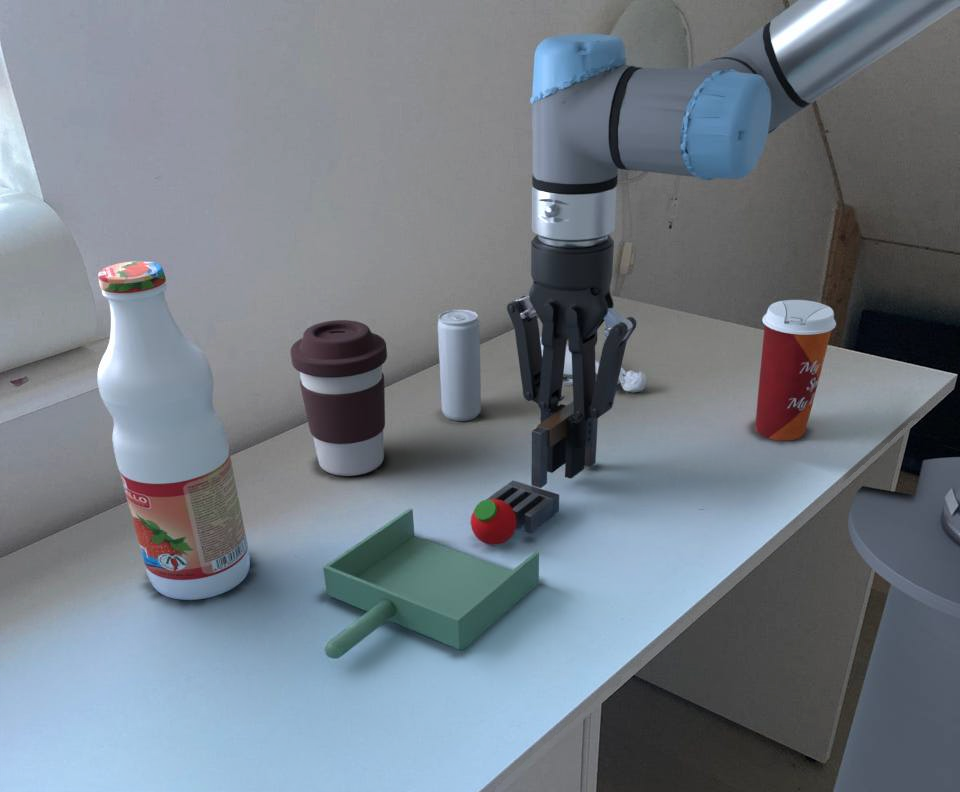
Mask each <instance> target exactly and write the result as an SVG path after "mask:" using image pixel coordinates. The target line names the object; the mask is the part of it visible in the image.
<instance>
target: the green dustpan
mask: <svg viewBox="0 0 960 792" xmlns="http://www.w3.org/2000/svg"><path fill="white" fill-rule="evenodd" d="M322 569H323V576H324V583H325V589H326V590H325V591H326V595H327V596H329V597H331V598H334V599H337V600H338V601H341V602H343V603H346V604H348V605H351V606H353V607H356V608H358V609H361V610H362V611H366V612H365V613H364V614H363V615H361V616H360V617H358V618H357V619H356V620H354V621H353V622H352V623H350V624H349V625H348V626H346V627H345V628H344V629H343V630H341V631H340V632H339V633H337V634H335V636H334V637H332V638H331V639H329V640H328V641H327V642H326V643H325V645H324V652H325V655H326V656H327V657H328V658H330V659H333V660H337V659H340V658H341V657H343V656H344V655H345V654H346V653H348V652H349V651H350V650H352V649H353V648H354V647H356V646H357V645H358V644H359V643H360V642H362V641H363V640H365V638H367V637H368V636H369V635H371V634H372V633H373V632H375V631H376V630H377V629H379V628H380V627H382V625H383V624H385V623H386V622H388V621H389V622H392V623H395V624H396V625H399V626H401V627H404V628H407V629H409V630H411V631H413V632H416V633H418V634H421V635H423V636H425V637H428V638H431V639H433V640H435V641H437V642H440V643H443V644H445V645H448V646H450V647H452V648H455V649H457V650H461V651H463V650H464V649H466V648H467V647H468V646H470V644H471V643H472V642H473V641H475V640H476V639H477V638H478V637H479V636H481V635H482V633H484V632H485V631H486V630H487V629H488V628H489V627H491V625H493V624H494V623H495V622H496V621H497V620H498V619H499V618H501V617H502V616H503V615H504V614H505V613H506V612H508V611H509V610H510V609H511V608H512V607H513V606H515V605H516V604H517V602H519V601H520V600H521V599H522V598H524V596H526V595H527V594H528V593H529V592H530V591H531V590H533V589H534V588H535V587H536V586H537V585H538V584H539V583H540V552H539V551H537V550H536V551H534V552H533V553H532V554H531V555H529V556H527V558H526V559H524V560H523V561H522V562H521V563H520V564H519V565H517V566H516V567H515V568H514V569H512V570H511V569H508V568H506V567H503V566H500V565H497V564H495V563H492V562H489V561H487V560H483V559H481V558H478V557H475V556H473V555H470V554H467V553H463V552H461V551H458V550H455V549H453V548H450V547H447V546H444V545H441V544H439V543H436V542H434V541H430V540H427V539H425V538H421V537H419V536H416V535H415V523H414V509H413V508H411V507H409V508H407V509H406V510H405V511H404V512H402V513H400V514H399V515H397V516H396V517H394V518H393V519H392V520H390V521H388V522H387V523H385V524H384V525H383V526H381V527H379V528H378V529H377V530H375V531H374V532H372V533H371V534H369V535H368V536H367V537H365V538H364V539H362V540H361V541H359V542H358V543H356V544H354V545H353V546H352V547H350V548H349V549H347V550H346V551H344V552H343V553H341V554H340V555H338V556H337V557H335V559H333V560H331V561H330V562H328V563H327V564H326V565H324V566H323V567H322Z"/></svg>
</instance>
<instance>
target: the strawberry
mask: <svg viewBox="0 0 960 792" xmlns="http://www.w3.org/2000/svg"><path fill="white" fill-rule="evenodd" d="M470 518H471V519H470V527H471V531H472V533H473V534H474V536H475V538H476V539H478V540H479V541H480V542H481V543H484V544H486V545H491V546H497V545H501V544H504V543H506V542H507V541H509V540H510V539H511V537H513V535H514V533H515V532H516V530H517V529H516V515H515V513H514V511H513V509H512V508H511V506H510V505H508V504H507V503H506V502H504V501H502V500H498V499H489V500H486V499H484V500H481V501H479V502H478V503H477V504H476V506H475V508H474V510H473V511H472V514H471V516H470Z"/></svg>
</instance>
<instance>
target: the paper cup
mask: <svg viewBox="0 0 960 792" xmlns="http://www.w3.org/2000/svg"><path fill="white" fill-rule="evenodd" d="M761 321H762V323H763V324H764V329H763V338H762V340H763V341H762V347H761V348H762V349H761V360H760V370H759V379H758V380H759V382H758V389H757V401H756V413H755V431H756V433H757V434H758V435H760V436H762V437H763V438H766V439H769V440H774V441H780V442H781V441H782V442H783V441H785V442H786V441H787V442H788V441H794V440H798V439H800V438H802V437H803V436H804V435H805V433H806V429H807V426H808V422H809V419H810V416H811V412H812V407H813V403H814V400H815V397H816V392H817V388H818V386H819V381H820V378H821V373H822V369H823V365H824V361H825V358H826V353H827V351H828V346H829V341H830V339H831V335H832V331H833V329H835V328H836V327H837V322H836V320H835V312H834V310H833V308H831V306H829V305H827V304H824V303H820V302H818V301H812V300H806V299H785V300H778V301H776V302H773V303H771V304H770V305H769V306H768V308H767V311H766V313H765V314H764V315H763V316H762V320H761Z"/></svg>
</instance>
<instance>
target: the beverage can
mask: <svg viewBox="0 0 960 792" xmlns="http://www.w3.org/2000/svg"><path fill="white" fill-rule="evenodd" d="M480 330H481V329H480V320H479V315H478V312H475V311H473V310H469V309H450V310H446V311H444V312H441V313H440V314H438V321H437V335H438V336H437V339H438V341H437V342H438V357H439V358H438V359H439V378H440V396H441V397H440V398H441V399H440V400H441V412H442V414H443V415H444V416H445V418H447V419H449V420H451V421H456V422H467V421H471V420H474V419H476V418H477V417H478V416H479V414H480V413H481V411H482V387H481V386H482V385H481V380H482V379H481V335H480V332H481V331H480Z"/></svg>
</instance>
